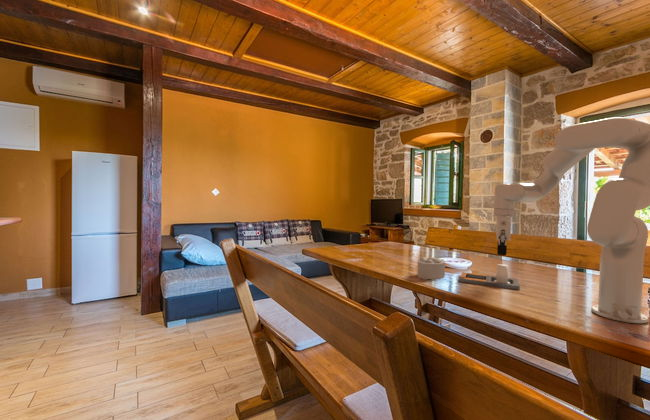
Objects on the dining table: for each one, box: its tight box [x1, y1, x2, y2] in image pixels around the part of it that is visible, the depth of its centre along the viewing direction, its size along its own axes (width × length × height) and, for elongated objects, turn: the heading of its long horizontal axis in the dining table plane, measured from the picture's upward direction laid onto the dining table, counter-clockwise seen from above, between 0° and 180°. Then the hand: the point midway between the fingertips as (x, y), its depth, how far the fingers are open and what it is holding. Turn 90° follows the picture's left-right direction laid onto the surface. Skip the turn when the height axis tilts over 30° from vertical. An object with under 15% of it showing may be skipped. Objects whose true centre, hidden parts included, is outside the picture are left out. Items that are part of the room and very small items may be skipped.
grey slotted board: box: [459, 271, 521, 291], centre depth 130 cm, size 13×22×2 cm, turn 60°
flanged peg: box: [493, 263, 511, 284], centre depth 127 cm, size 6×6×8 cm
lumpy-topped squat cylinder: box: [417, 256, 446, 280], centre depth 138 cm, size 10×13×9 cm
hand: (501, 252), depth 128 cm, fingers open, 9 cm apart
